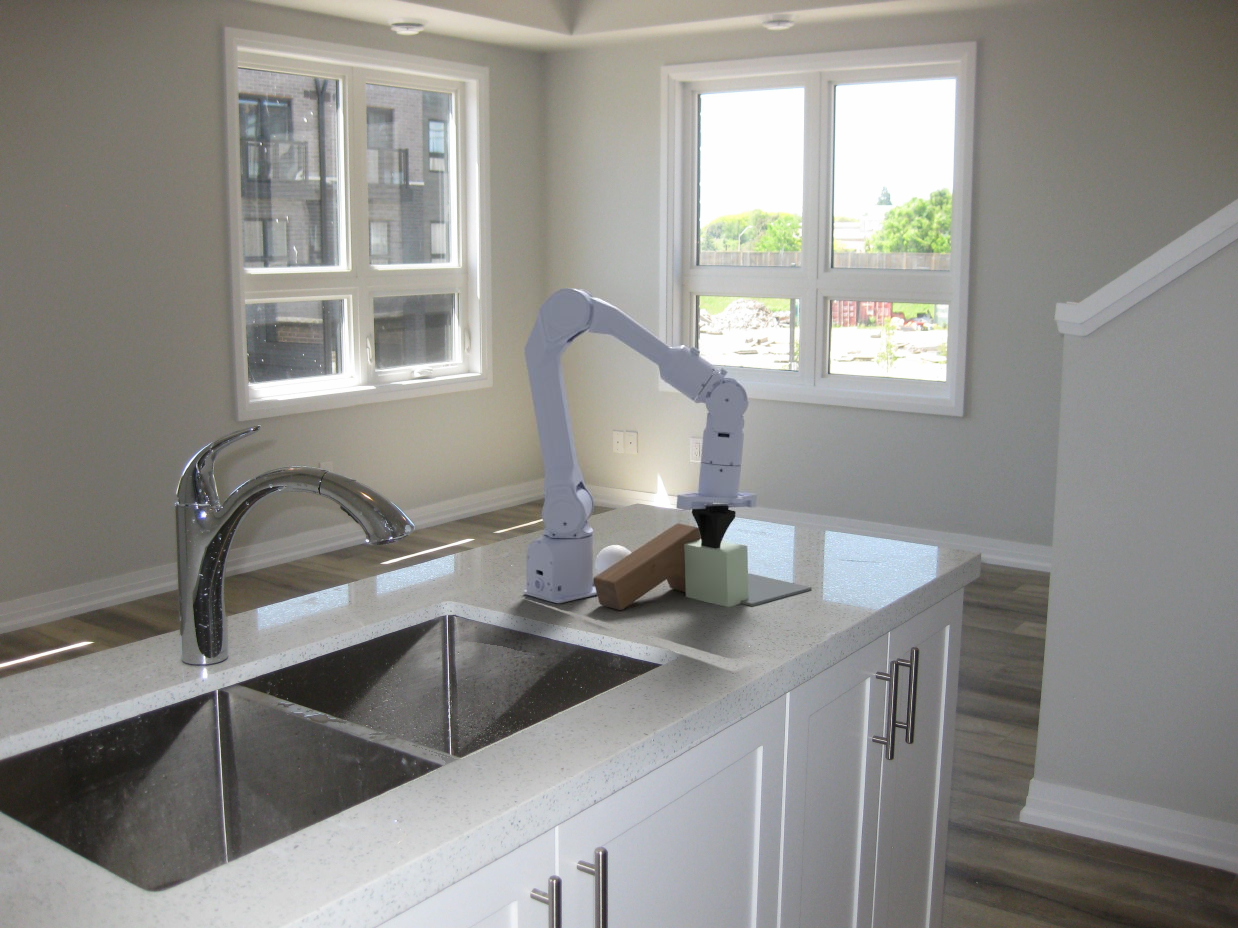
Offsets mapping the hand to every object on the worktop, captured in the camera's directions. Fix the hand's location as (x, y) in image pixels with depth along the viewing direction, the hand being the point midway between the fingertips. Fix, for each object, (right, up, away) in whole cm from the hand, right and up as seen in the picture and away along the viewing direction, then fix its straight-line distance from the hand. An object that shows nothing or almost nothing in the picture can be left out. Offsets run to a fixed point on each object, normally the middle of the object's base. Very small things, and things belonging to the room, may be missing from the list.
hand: (712, 558), depth 164 cm
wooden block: (-2, +1, +7) cm, 7 cm away
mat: (+6, -5, +7) cm, 11 cm away
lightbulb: (-8, -3, +17) cm, 18 cm away
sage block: (+1, -6, +2) cm, 6 cm away
